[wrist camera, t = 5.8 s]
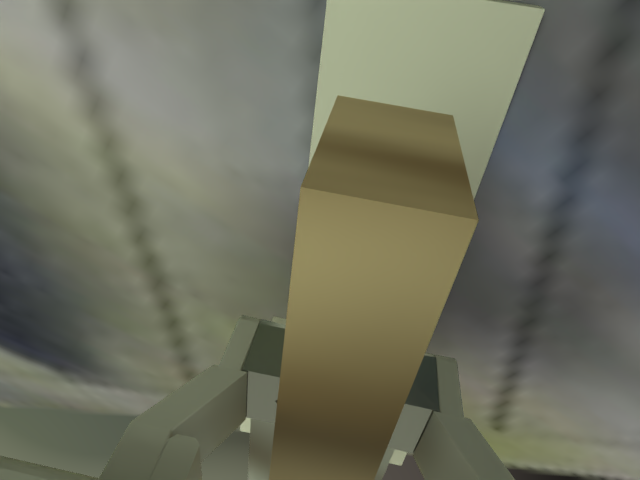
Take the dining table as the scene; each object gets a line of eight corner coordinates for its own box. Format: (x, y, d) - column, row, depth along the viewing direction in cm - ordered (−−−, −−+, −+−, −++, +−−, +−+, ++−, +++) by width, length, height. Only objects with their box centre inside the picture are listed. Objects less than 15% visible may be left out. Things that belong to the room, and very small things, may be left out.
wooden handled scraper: (276, 84, 9) (208, 169, 6) (516, 126, 9) (578, 239, 6) (252, 476, 19) (221, 586, 16) (365, 501, 19) (356, 619, 16)
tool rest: (332, -26, 20) (329, -24, 19) (539, 5, 19) (545, 9, 18) (295, 301, 31) (292, 311, 30) (422, 326, 31) (422, 337, 30)
